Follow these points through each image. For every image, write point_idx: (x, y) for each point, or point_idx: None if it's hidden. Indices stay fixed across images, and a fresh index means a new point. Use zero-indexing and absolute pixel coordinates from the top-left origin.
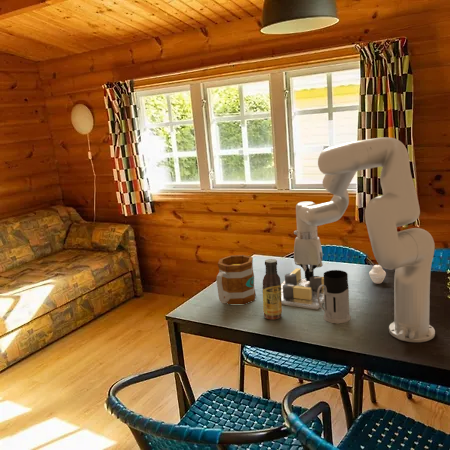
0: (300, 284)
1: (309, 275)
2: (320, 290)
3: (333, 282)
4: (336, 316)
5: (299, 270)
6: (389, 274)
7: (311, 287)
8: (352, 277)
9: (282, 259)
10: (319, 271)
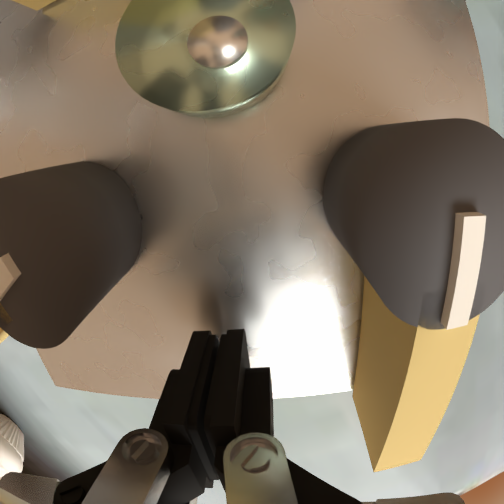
0: (301, 270)
1: (180, 381)
2: None
3: None
4: None
5: (378, 446)
6: (42, 472)
7: (84, 167)
8: None
9: (471, 482)
10: None
